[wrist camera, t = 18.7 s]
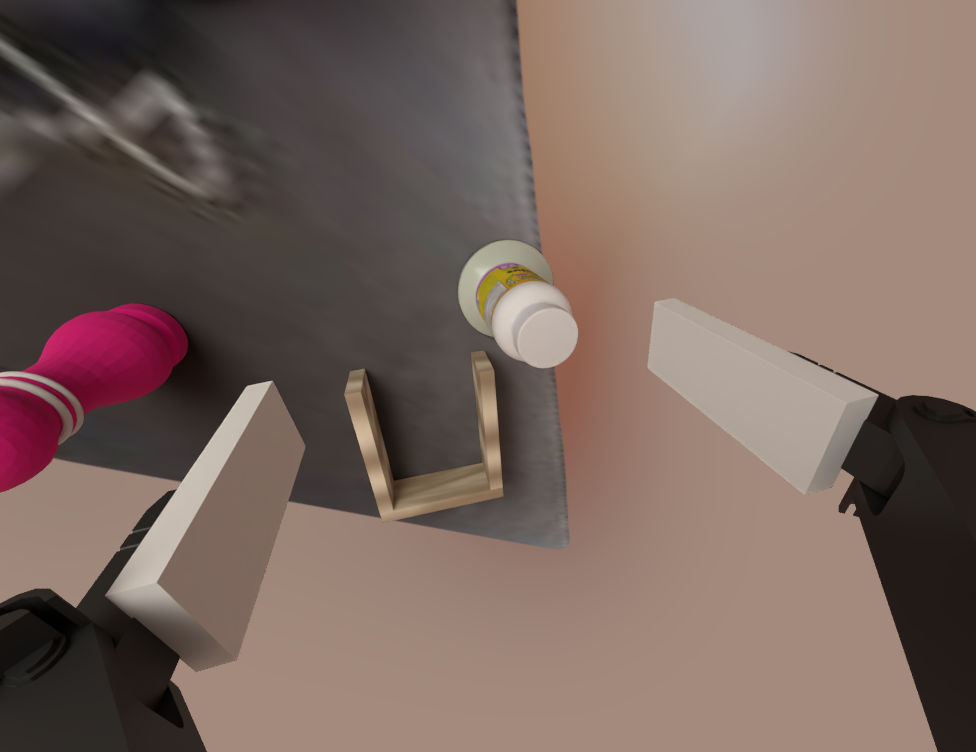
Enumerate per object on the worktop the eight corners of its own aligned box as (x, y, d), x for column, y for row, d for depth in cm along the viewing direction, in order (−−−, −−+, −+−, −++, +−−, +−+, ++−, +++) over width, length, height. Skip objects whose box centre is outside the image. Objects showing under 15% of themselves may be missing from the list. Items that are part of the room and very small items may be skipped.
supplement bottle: (548, 279, 38) (609, 319, 27) (515, 334, 40) (560, 392, 29) (493, 247, 36) (536, 277, 24) (461, 308, 38) (487, 361, 26)
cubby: (350, 371, 39) (344, 394, 35) (484, 350, 41) (494, 369, 37) (384, 491, 47) (382, 522, 43) (494, 469, 50) (503, 496, 45)
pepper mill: (129, 280, 31) (-204, 398, 14) (212, 336, 35) (28, 489, 17) (79, 336, 33) (-286, 510, 15) (165, 386, 36) (-53, 575, 19)
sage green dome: (451, 245, 36) (453, 246, 35) (550, 234, 37) (554, 235, 36) (462, 341, 40) (464, 344, 39) (549, 327, 42) (553, 330, 41)
